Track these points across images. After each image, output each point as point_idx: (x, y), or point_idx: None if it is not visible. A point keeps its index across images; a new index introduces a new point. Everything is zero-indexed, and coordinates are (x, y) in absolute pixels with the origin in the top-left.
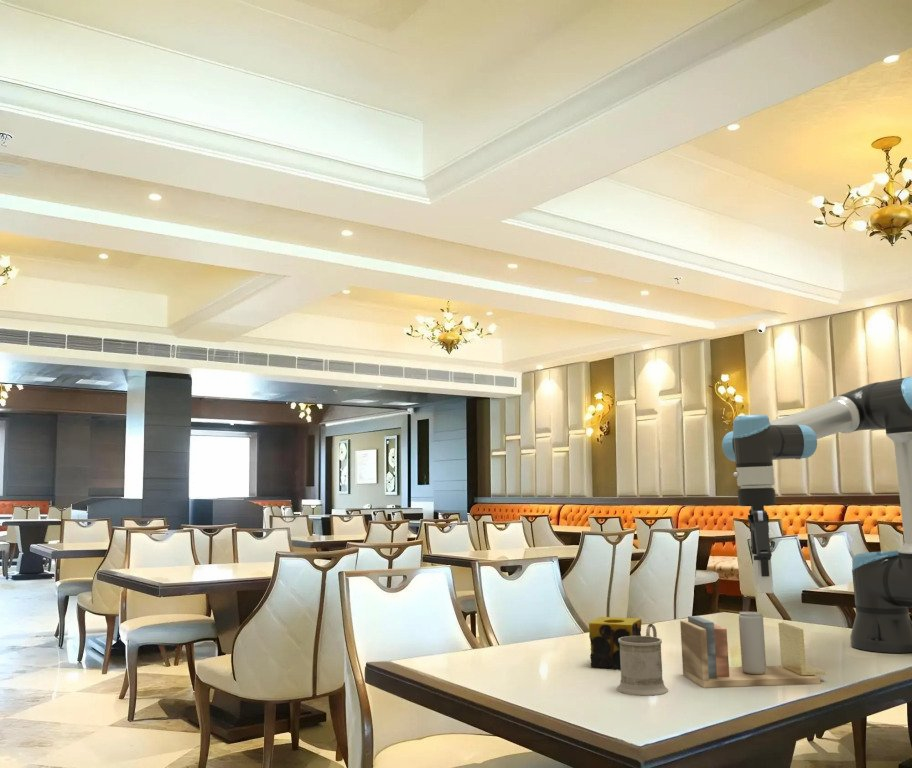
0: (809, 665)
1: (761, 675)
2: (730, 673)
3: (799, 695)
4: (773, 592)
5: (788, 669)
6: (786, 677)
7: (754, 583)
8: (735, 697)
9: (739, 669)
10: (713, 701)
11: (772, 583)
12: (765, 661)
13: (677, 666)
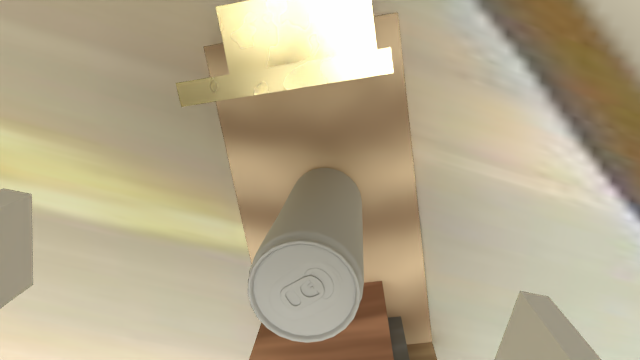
0: (266, 3)
1: (363, 189)
2: None
3: (541, 129)
4: (549, 299)
5: None
6: (394, 123)
7: (17, 289)
8: None
9: None
10: None
11: (589, 347)
12: (341, 179)
13: (170, 350)
